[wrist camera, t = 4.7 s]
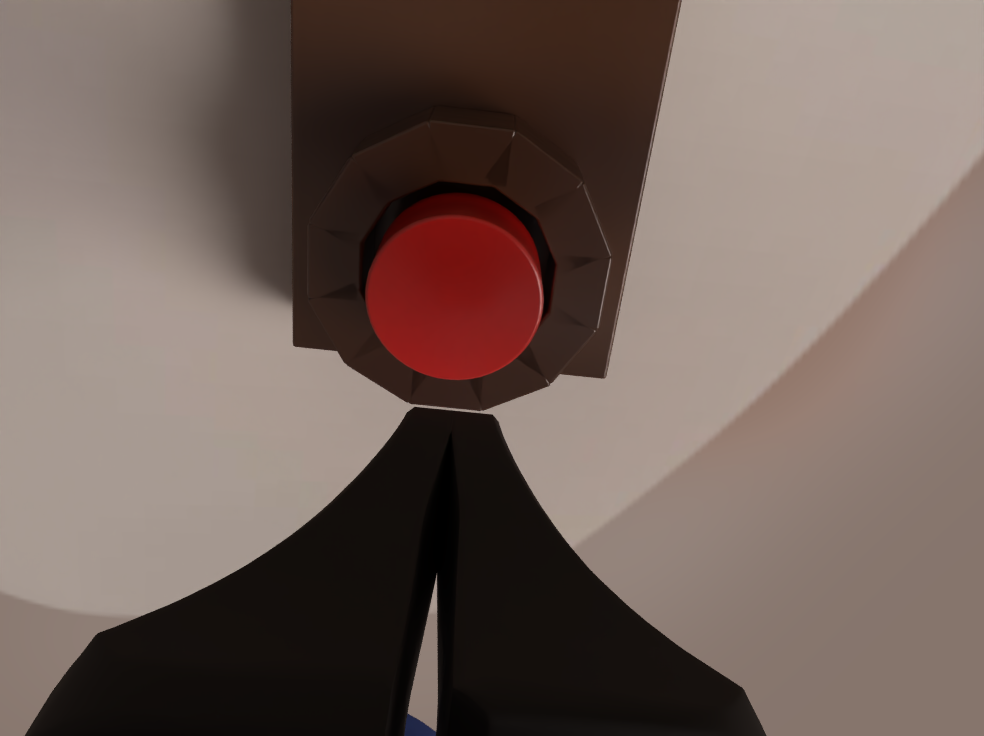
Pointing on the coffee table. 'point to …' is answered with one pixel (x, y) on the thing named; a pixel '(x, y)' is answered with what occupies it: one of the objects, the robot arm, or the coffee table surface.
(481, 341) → the light button
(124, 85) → the coffee table surface
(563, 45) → the switch box
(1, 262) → the coffee table surface
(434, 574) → the robot arm
